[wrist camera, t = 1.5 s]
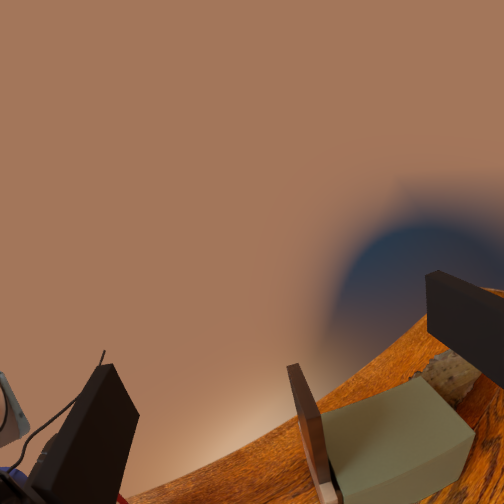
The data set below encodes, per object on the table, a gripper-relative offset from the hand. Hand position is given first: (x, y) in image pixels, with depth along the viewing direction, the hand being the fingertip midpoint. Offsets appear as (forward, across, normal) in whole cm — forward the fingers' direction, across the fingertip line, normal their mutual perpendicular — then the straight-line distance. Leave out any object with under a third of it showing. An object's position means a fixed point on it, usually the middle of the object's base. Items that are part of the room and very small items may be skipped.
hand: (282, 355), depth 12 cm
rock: (+21, +25, -31) cm, 45 cm away
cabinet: (+11, +10, -30) cm, 34 cm away
